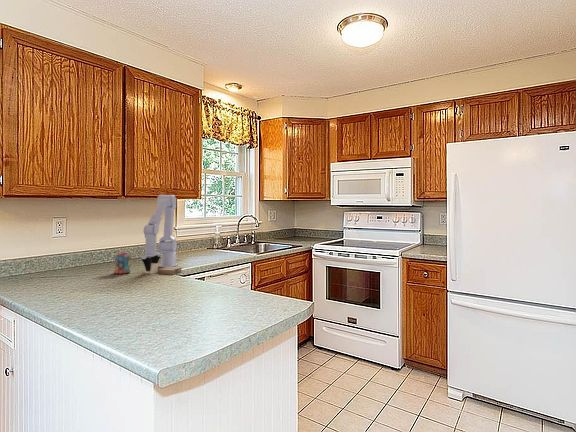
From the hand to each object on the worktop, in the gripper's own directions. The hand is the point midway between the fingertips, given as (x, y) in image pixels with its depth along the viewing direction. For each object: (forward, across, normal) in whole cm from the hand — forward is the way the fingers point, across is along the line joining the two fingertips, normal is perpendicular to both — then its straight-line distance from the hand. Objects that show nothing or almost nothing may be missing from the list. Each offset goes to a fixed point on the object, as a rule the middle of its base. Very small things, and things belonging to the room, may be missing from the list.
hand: (151, 270), depth 204 cm
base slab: (+1, -3, +10) cm, 11 cm away
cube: (+1, 0, 0) cm, 1 cm away
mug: (+2, +5, -13) cm, 14 cm away
